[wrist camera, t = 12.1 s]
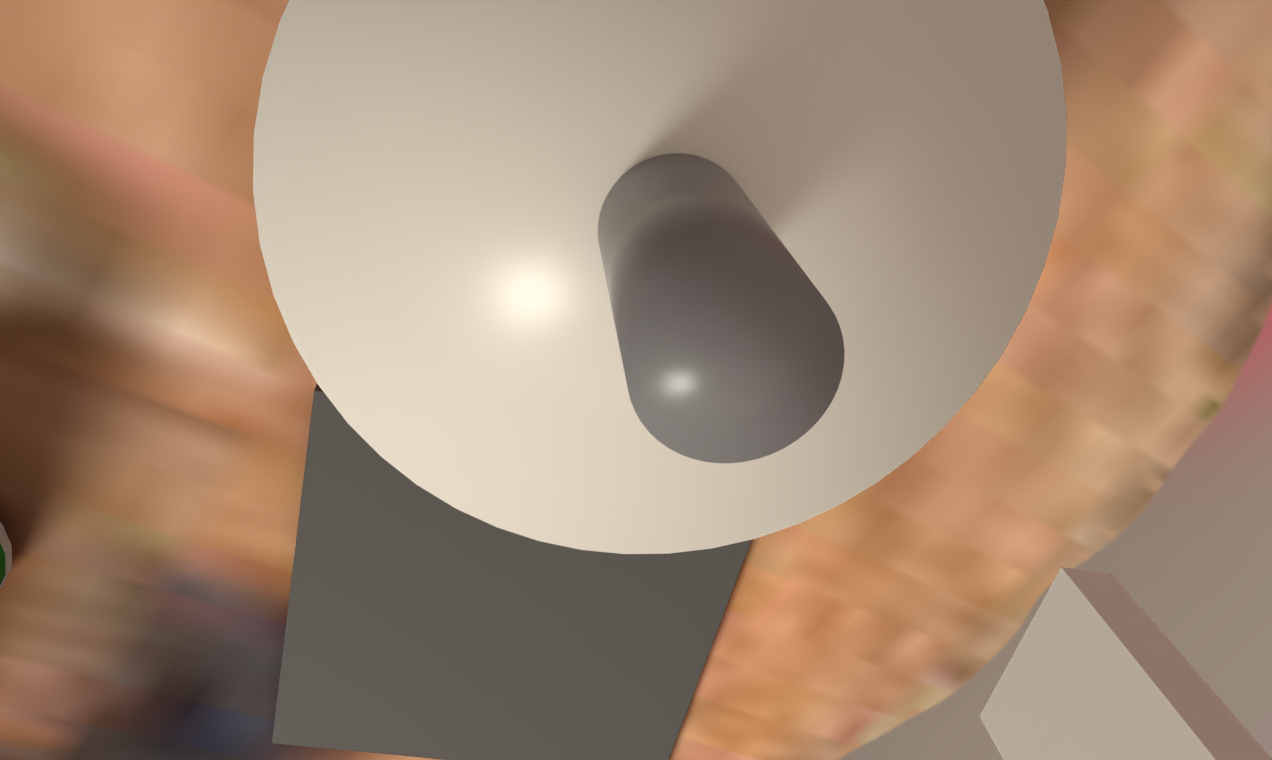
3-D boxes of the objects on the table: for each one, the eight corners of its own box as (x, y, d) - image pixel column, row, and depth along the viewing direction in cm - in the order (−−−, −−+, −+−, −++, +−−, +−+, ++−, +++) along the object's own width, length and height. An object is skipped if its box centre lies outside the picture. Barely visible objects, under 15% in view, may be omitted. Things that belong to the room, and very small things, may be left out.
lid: (310, -392, 20) (132, -636, 11) (1188, -91, 25) (1563, -91, 16) (234, 475, 30) (105, 721, 21) (878, 575, 34) (1001, 811, 25)
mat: (317, 384, 41) (314, 390, 41) (775, 463, 46) (777, 470, 45) (274, 734, 50) (272, 743, 50) (659, 771, 55) (660, 780, 54)
